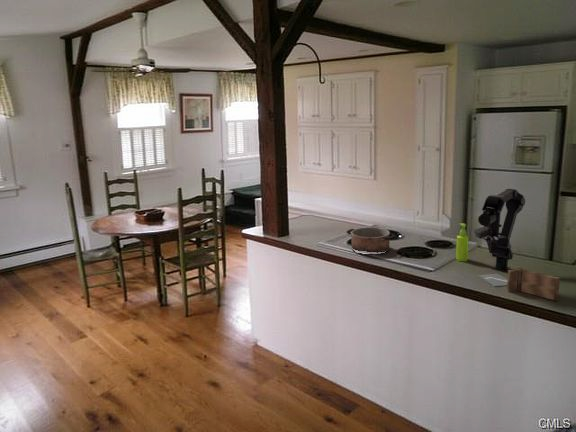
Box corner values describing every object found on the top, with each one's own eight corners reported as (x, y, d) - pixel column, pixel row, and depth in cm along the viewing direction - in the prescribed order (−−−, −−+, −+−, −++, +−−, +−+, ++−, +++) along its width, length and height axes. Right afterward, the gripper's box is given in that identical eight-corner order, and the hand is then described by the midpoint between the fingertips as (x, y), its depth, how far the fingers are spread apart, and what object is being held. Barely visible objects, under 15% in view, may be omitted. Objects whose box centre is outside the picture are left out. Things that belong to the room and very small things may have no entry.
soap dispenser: (463, 256, 253) (465, 222, 248) (469, 261, 246) (471, 225, 241) (453, 257, 253) (455, 222, 248) (458, 261, 246) (460, 226, 241)
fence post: (508, 292, 205) (510, 270, 202) (506, 290, 207) (507, 268, 204) (521, 291, 206) (523, 269, 203) (519, 289, 207) (521, 267, 205)
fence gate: (520, 291, 205) (522, 269, 202) (522, 290, 206) (524, 268, 203) (556, 301, 193) (559, 278, 191) (558, 300, 194) (560, 277, 192)
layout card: (478, 275, 225) (478, 275, 225) (497, 274, 226) (497, 273, 226) (494, 286, 212) (494, 285, 211) (514, 285, 213) (514, 284, 212)
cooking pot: (401, 248, 273) (401, 231, 270) (385, 259, 255) (385, 240, 253) (357, 241, 290) (357, 224, 288) (339, 250, 273) (339, 233, 271)
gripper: (467, 218, 226) (465, 248, 229) (488, 227, 208) (486, 260, 211) (488, 217, 227) (486, 247, 231) (511, 226, 209) (508, 258, 213)
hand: (490, 253), depth 221 cm, fingers closed
